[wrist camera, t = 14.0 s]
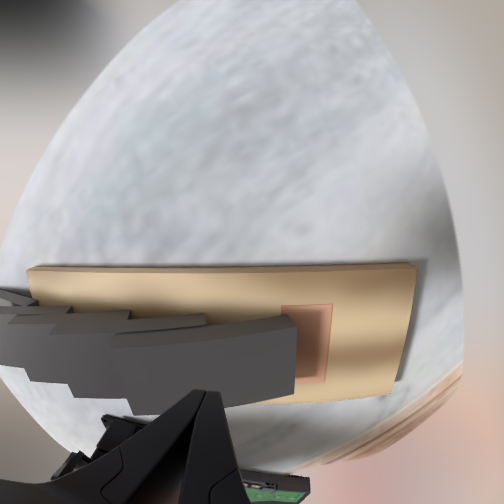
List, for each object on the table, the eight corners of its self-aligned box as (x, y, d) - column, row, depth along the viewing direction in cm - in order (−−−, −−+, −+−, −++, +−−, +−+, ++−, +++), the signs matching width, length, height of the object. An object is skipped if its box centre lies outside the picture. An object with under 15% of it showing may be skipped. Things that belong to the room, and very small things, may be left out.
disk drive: (272, 513, 26) (311, 474, 22) (271, 528, 24) (312, 493, 20) (202, 502, 26) (217, 460, 23) (198, 516, 24) (212, 481, 20)
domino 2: (65, 314, 16) (-24, 312, 13) (83, 372, 17) (-5, 364, 15) (72, 305, 17) (-15, 305, 15) (87, 361, 18) (2, 355, 16)
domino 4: (206, 324, 15) (48, 334, 13) (216, 391, 16) (74, 397, 14) (204, 312, 16) (57, 323, 14) (212, 376, 18) (79, 383, 15)
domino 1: (24, 306, 16) (-14, 292, 18) (43, 359, 17) (-1, 335, 19) (37, 300, 18) (-4, 288, 20) (54, 351, 19) (9, 329, 21)
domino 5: (297, 326, 15) (109, 348, 12) (294, 394, 16) (133, 415, 13) (286, 314, 16) (114, 334, 14) (285, 379, 17) (135, 399, 15)
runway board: (386, 384, 18) (390, 394, 17) (63, 364, 21) (56, 371, 20) (409, 262, 16) (418, 268, 15) (34, 266, 18) (25, 270, 17)
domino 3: (126, 319, 15) (6, 324, 13) (144, 383, 17) (30, 381, 14) (130, 309, 17) (16, 315, 15) (145, 370, 18) (37, 370, 16)
